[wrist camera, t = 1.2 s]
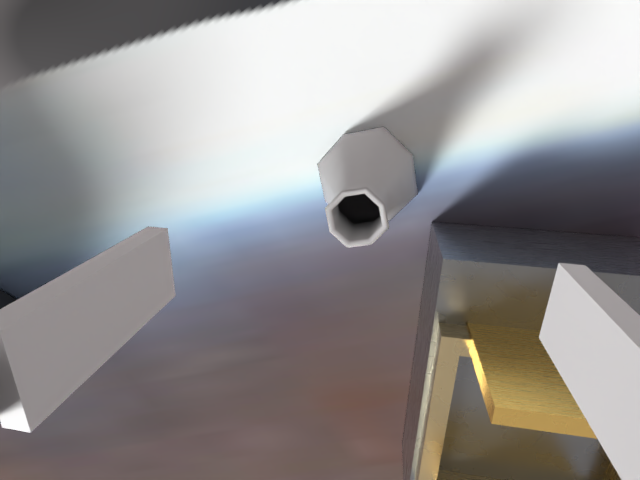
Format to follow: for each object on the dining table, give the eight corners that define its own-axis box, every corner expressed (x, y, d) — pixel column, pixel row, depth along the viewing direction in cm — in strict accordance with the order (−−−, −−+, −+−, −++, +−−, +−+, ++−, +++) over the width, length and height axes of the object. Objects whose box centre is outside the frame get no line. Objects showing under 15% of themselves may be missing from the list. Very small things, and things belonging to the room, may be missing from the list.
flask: (301, 158, 30) (261, 189, 21) (389, 107, 27) (388, 117, 18) (348, 239, 31) (330, 302, 22) (434, 197, 29) (454, 248, 20)
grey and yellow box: (399, 466, 39) (403, 655, 26) (431, 222, 30) (463, 324, 17) (553, 491, 37) (641, 710, 24) (637, 237, 28) (853, 366, 15)
